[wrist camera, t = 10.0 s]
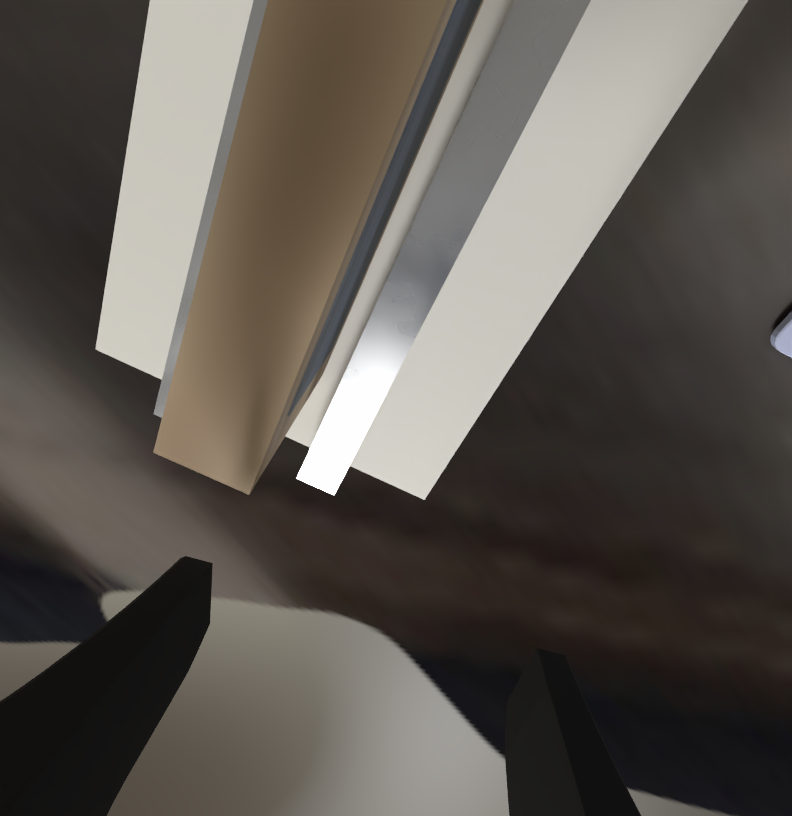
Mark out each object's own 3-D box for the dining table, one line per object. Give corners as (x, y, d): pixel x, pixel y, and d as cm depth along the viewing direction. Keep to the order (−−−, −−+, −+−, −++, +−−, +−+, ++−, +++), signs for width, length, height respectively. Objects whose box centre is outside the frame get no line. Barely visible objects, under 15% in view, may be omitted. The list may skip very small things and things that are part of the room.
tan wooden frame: (532, -106, 12) (589, -346, 6) (323, 375, 19) (250, 495, 13) (432, -166, 12) (384, -480, 6) (258, 344, 19) (151, 451, 12)
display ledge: (802, -108, 12) (898, -178, 9) (426, 481, 22) (419, 533, 19) (254, -454, 11) (178, -652, 8) (114, 337, 21) (58, 371, 18)
